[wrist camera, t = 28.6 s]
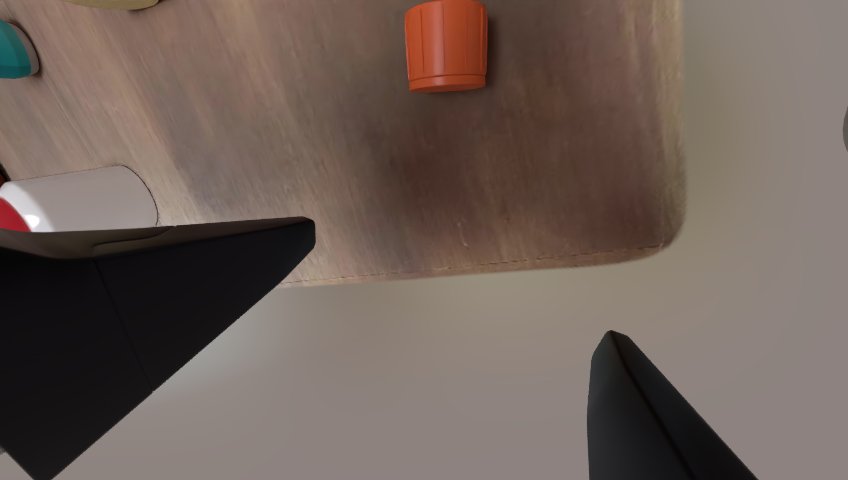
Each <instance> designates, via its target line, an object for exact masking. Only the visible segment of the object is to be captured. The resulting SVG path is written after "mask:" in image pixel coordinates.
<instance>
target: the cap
mask: <svg viewBox="0 0 848 480" xmlns="http://www.w3.org/2000/svg"><path fill="white" fill-rule="evenodd" d="M404 24H405V39H406V54H407V68H408V79H409V82H410V83H409V88H410V91H411V92H418V93H432V92H450V91H462V90H470V89H476V88H481V87H484V86H485V73H486V72H487V32H488V14H487V9H486V7H485V5H484V4H482V3H481V2H478V1H474V0H436V1H431V2H426V3H423V4H420V5H418V6H415V7H413V8H411V9H410V10H409V11H407V13H406V14H405V23H404Z"/></svg>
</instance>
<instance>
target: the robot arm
mask: <svg viewBox="0 0 848 480" xmlns="http://www.w3.org/2000/svg"><path fill="white" fill-rule="evenodd" d="M315 243H316V237H315V223H314V221H313V220H311V219H309V218H306V217H303V216H300V217H286V218H273V219H259V220H245V221H232V222H218V223H204V224H190V225H177V226H162V227H147V228H131V229H110V230H85V231H60V232H25V231H16V230H9V229H4V228H0V455H1V454H3V453H4V452H6V453H7V454H8V455H9V456H10V457H11V458H12V459H13V460H14V461H15V462H16V463H17V464H18V465H19V466H20V467H21V468H22V469H23V470H24V471H25V472H26V473H27V474H28V475H29V476H30V477H31V478H32V479H33V480H52V479H53V478H54V477H55V476H57V475H58V474H59V473H60V472H61V471H62V470H64V469H65V468H66V467H67V466H68V465H69V464H71V463H72V462H73V461H74V460H75V459H76V458H78V457H79V456H80V455H81V454H82V453H83V452H84V451H86V450H87V449H88V448H89V447H90V446H91V445H93V444H94V443H95V442H96V441H97V440H98V439H100V438H101V437H102V436H103V435H104V434H105V433H107V432H108V431H109V430H110V429H111V428H112V427H113V426H115V425H116V424H117V423H118V422H119V421H120V420H122V419H123V418H124V417H125V416H126V415H127V414H129V413H130V412H131V411H132V410H133V409H134V408H136V407H137V406H138V405H139V404H140V403H141V402H143V401H144V400H145V399H146V398H147V397H148V396H149V395H150V394H152V392H153V391H155V390H156V389H157V388H158V387H160V386H161V385H162V384H163V383H164V382H165V381H166V380H168V379H169V378H170V377H171V376H172V375H173V374H175V373H176V372H177V371H178V370H179V369H180V368H182V367H183V366H184V365H185V364H186V363H187V362H189V361H190V360H191V359H192V358H193V357H194V356H196V354H198V353H199V352H200V351H201V350H202V349H204V348H205V347H206V346H207V345H208V344H209V343H211V342H212V341H213V340H214V339H215V338H216V337H218V336H219V335H220V334H221V333H222V332H223V331H225V330H226V329H227V328H228V327H229V326H230V325H232V324H233V323H234V322H235V321H236V320H237V319H239V318H240V316H242V315H243V314H244V313H245V312H247V311H248V310H249V309H250V308H251V307H252V306H253V305H255V304H256V303H257V302H258V301H259V300H261V299H262V298H263V297H264V296H265V295H266V294H268V293H269V292H270V291H271V290H272V289H273V288H275V287H276V286H277V285H278V284H279V283H280V282H281V281H282V280H283V279H284V278H285V277H286V276H287V275H288V274H289V273H290V272H291V271H292V270H293V269H294V268H295V267H296V266H297V265H298V264H299V263H300V262H301V261H302V260H303V259H304V258H305V257H306V256H307V255H308V254H309V253H310V251H311V250H312V249H313V248H314V246H315ZM587 437H588V457H589V458H588V459H589V480H758V479H757V478H756V477H755V476H754V474H753V473H752V472H751V471H750V470H749V469H748V468H747V467H746V466H745V465H744V463H743V462H742V461H741V460H740V459H739V458H738V457H737V456H736V455H735V453H734V452H733V451H732V450H731V449H730V448H729V447H728V446H727V445H726V443H725V442H723V440H722V439H721V438H720V437H719V436H718V435H717V434H716V432H715V431H714V430H713V429H712V428H711V427H710V426H709V425H708V424H707V423H706V421H705V420H704V419H703V418H702V417H701V416H700V415H699V414H698V413H697V412H696V410H695V409H694V408H693V407H692V406H691V405H690V404H689V403H688V402H687V401H686V400H685V398H684V397H682V395H681V394H680V393H679V392H678V391H677V389H676V388H675V387H674V386H673V385H672V384H671V383H670V382H669V381H668V380H667V379H666V377H665V376H664V375H663V374H662V373H661V372H660V371H659V370H658V369H657V368H656V366H654V364H653V363H652V362H651V361H650V360H649V359H648V358H647V357H646V356H645V354H644V353H643V352H642V351H641V350H640V349H639V348H638V347H637V345H636V344H635V343H634V342H633V341H632V340H631V339H630V338H629V337H628V336H626V335H624V334H621V333H618V332H615V331H613V330H610V331H608V332H607V333H606V334H605V335H604V337H603V339H602V340H601V342H600V343H599V345H598V347H597V348H596V350H595V351H594V354H593V356H592V360H591V371H590V383H589V395H588V407H587Z"/></svg>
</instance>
